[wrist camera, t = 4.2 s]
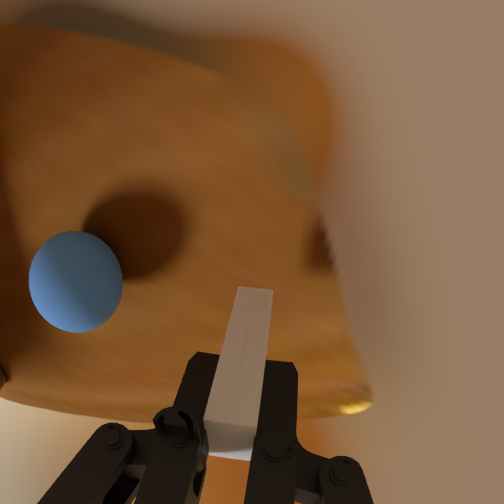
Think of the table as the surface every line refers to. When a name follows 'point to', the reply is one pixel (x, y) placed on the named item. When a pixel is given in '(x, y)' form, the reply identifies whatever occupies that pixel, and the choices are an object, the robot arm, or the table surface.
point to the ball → (75, 281)
